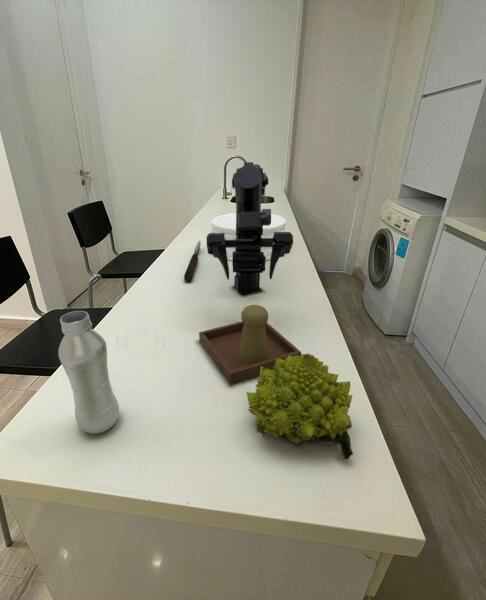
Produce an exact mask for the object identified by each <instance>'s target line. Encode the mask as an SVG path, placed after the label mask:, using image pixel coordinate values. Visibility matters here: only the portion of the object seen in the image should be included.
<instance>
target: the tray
mask: <svg viewBox="0 0 486 600" xmlns="http://www.w3.org/2000/svg"><path fill="white" fill-rule="evenodd" d="M243 326H244V323H243V322H242V320H241V321H238V322H233V323H230V324H226V325H221V326H218V327H214V328H210V329H206V330H203V331H199V332H198V338H199V343H200V345H201V346H202V347H203V349H204V350H205V352H206V353H207V355H208V356H209V358H210V359H211V360H212V362H213V363H214V364H215V366H216V367H217V369H218V370H219V372H220V373H221V374H222V375H223V377H224V378H225V380H226V381H227V382H228V384H229V386H232V385H235V384H238V383H241V382H244V381H248V380H251V379H254V378H258V377H260V368H261V366H262V367H264V368H265V369H269V370H274V366H275V362H276V358H278V359H282V360H284V361H285V358H287V357H288V356H289V355H290V356H292V357H293V355H294V356H296V355H297V356H301V355H302V351H301V350H299V349H298V347H296V346H295V345H294V344H292V343H291V342H290V341H289V340H288V339H287V338H286V337H284V336H283V334H281V333H280V332H279V331H278V330H276V328H274V326H272V325H271V324H270V323H268V322H267V323H266V324H265V330H266V340H267V350H268V359H267V360H265V361H262V362H258V363H255V364H248V363H245V362H243V361H242V360H241V359H240V358H239V349H240V343H241V337H242V332H243Z"/></svg>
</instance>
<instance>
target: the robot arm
mask: <svg viewBox="0 0 486 600" xmlns="http://www.w3.org/2000/svg"><path fill="white" fill-rule="evenodd" d="M268 185H269V177H268V176H267V172H264V168H263V167H261V164H258V163H257V164H256V163H255V164H254V162H253V161H245V162H243V165H242V167H239V168H236V172H235V173H233V174H232V178H231V188H232V189H234V194H235V195H234V196H235V213H236V239H225V234H224V233H212V232H208V233H207V235H206V249H207V254H209V255H213V258H215V259H216V258H217V259H218V261H219V262H220V264H221V266H222V269H223V271H224V275H225V277H226V280H230V267H229V260H228V259H227V252H226V248H231V247H236V249H235V251H233V260H232V273H235V275H234V277H233V280H234V283H233V286H232V288H233V289H234V290H236V291H237V292H238V293H239V294H240V295H241V296H246V295H247V296H248V295H252V294H256V293H260V292H263V288H261V287H260V283H261V281H260V280H261V274H263V273H264V272H265V271H266V263H267V262H266V261H267V260H266V257H265V256H264V252H261V247H272V253H271V259H269V260H270V261H269V272H268V276H269V277H268V278H269V280H272V279H273V275H274V273H275V270H276V269H275V268H276V266H277V263H278V261H279V259H280V258H284V257H285V255H287V254H290V253H291V250H292V248H293V244H294V235H293V233H291V232H290V231H285V232H274V236H273V238H262V235H263V226H269V225H270V224H271V214H272V208H262V204H263V196H264V197H265V196H266V195H265V194H266V187H267V186H268Z"/></svg>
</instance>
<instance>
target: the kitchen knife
mask: <svg viewBox="0 0 486 600" xmlns="http://www.w3.org/2000/svg"><path fill="white" fill-rule="evenodd" d="M200 250H201V240H199V241H198V242H197V243H196V245H195V247H194V251H193V252H194V253H193V254H192V256H191V258H190V261H189V263H188V265H187V267H186V269H185V272H184V274H183V275H184V276H183V277H184V278H183V279H184V281H185V283H191V282H192V279H193V276H194V273H195V270H196V267H197V264H198V261H199V257H198V256H199V253H200Z"/></svg>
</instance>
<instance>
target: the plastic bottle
mask: <svg viewBox="0 0 486 600" xmlns="http://www.w3.org/2000/svg"><path fill="white" fill-rule="evenodd" d="M59 322H60V326H61V329H60V330H61V333H62V334H63V335H64V336H63V337H62V339H61V341H60V344H59V346H58V353H57V357H58V359H59V361H60V363H61V366H62V367H63V369H64V371H65V374H66V376H67V378H68V381H69V384H70V387H71V390H72V394H73V395H72V396H73V401H74V402H73V403H74V417H75V422H76V423H77V426H78V427H79V428H80V429H81V430H82V431H83V432H85V433H87V434H95V435H97V434H101V433H104V432H106V431H108V430H110V429H111V428H112V427H113V426H114V425H115V424H116V422H117V421H118V419H119V416H120V405H119V402H118V400H117V397H116V395H115V394H114V391H113V388H112V385H111V381H110V376H109V369H108V368H109V367H108V347H107V342H106V340H105V338H104V337H103V336H102V335H101V334H100V333H98V331H96V330H94V329H93V328H92V327H93V323H92V321H91V319H90V314H89V313H88V312H87V311H84V310H74V311H70V312H67V313H65V314H63V315H62V316H61V317H60V318H59Z"/></svg>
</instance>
